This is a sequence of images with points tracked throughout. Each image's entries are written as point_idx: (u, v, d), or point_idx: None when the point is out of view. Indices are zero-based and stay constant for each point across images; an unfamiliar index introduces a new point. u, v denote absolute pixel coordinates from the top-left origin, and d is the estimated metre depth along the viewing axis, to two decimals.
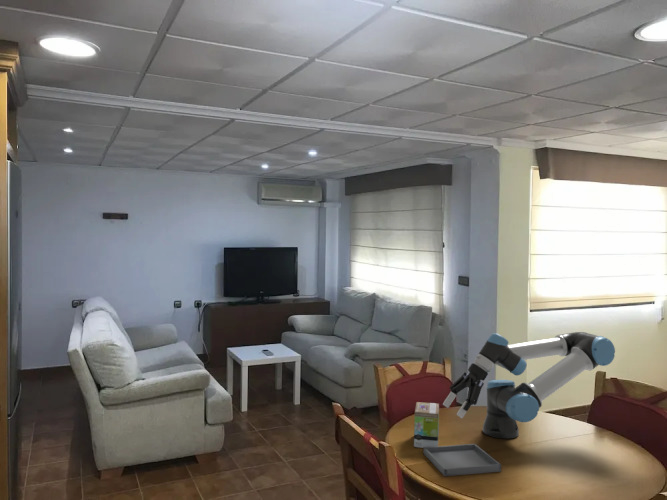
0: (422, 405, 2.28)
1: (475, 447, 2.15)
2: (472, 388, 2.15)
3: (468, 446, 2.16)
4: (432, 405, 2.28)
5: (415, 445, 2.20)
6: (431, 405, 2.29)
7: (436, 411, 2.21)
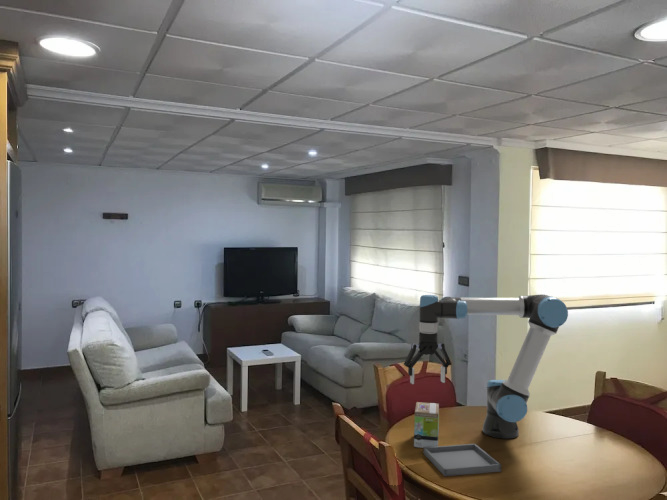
0: (422, 405, 2.28)
1: (475, 447, 2.15)
2: (417, 353, 2.25)
3: (468, 446, 2.16)
4: (432, 405, 2.28)
5: (415, 445, 2.20)
6: (431, 405, 2.29)
7: (436, 411, 2.21)
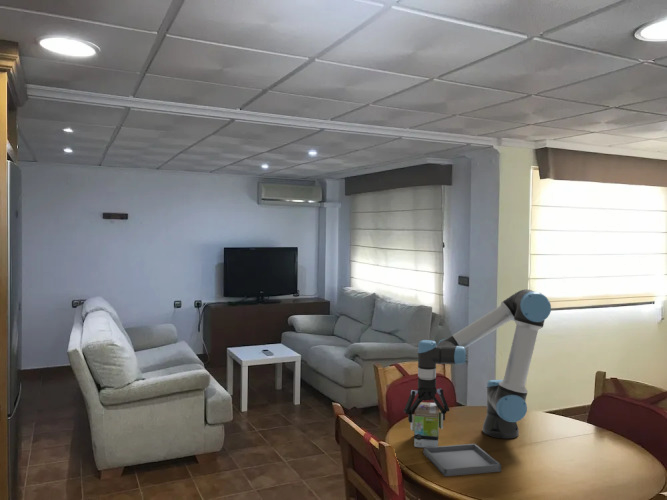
0: (422, 405, 2.28)
1: (475, 447, 2.15)
2: (417, 399, 2.26)
3: (468, 446, 2.16)
4: (432, 405, 2.28)
5: (415, 445, 2.20)
6: (431, 405, 2.29)
7: (436, 411, 2.21)
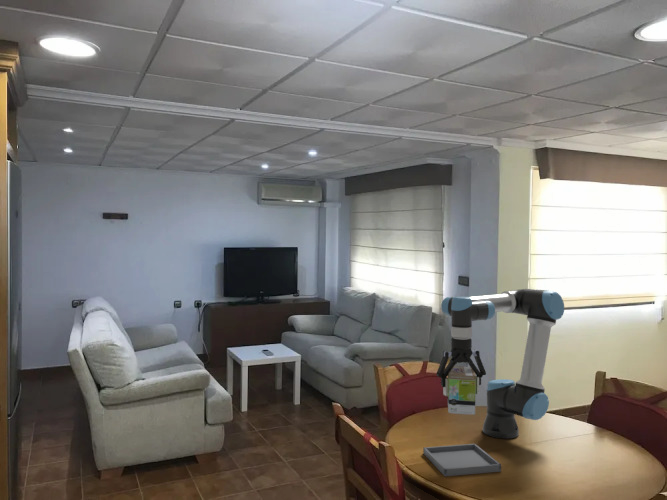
0: (455, 368, 2.07)
1: (475, 447, 2.15)
2: (450, 362, 2.04)
3: (468, 446, 2.16)
4: (467, 368, 2.07)
5: (450, 411, 1.98)
6: (465, 368, 2.07)
7: (473, 373, 1.99)
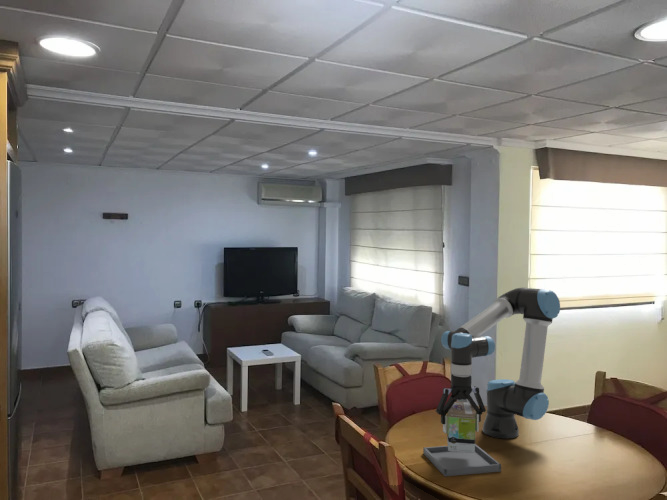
0: (455, 405, 2.07)
1: (475, 447, 2.15)
2: (450, 399, 2.04)
3: None
4: (467, 405, 2.07)
5: (449, 449, 1.98)
6: (465, 405, 2.07)
7: (472, 411, 1.99)
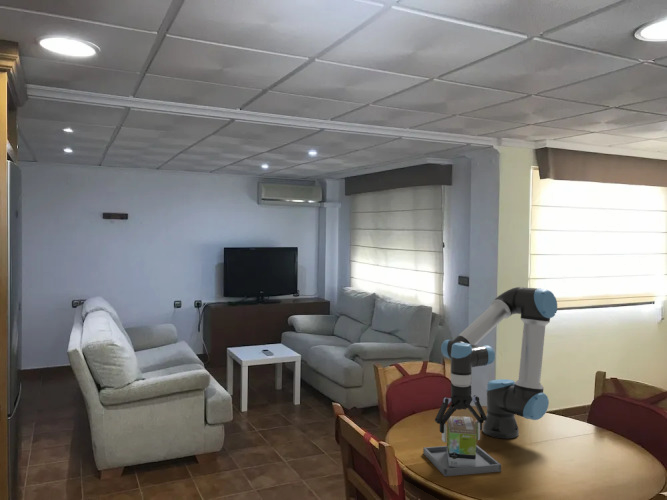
0: (455, 419, 2.07)
1: None
2: (450, 408, 2.04)
3: None
4: (467, 419, 2.07)
5: (450, 464, 1.98)
6: (465, 419, 2.08)
7: (473, 426, 2.00)
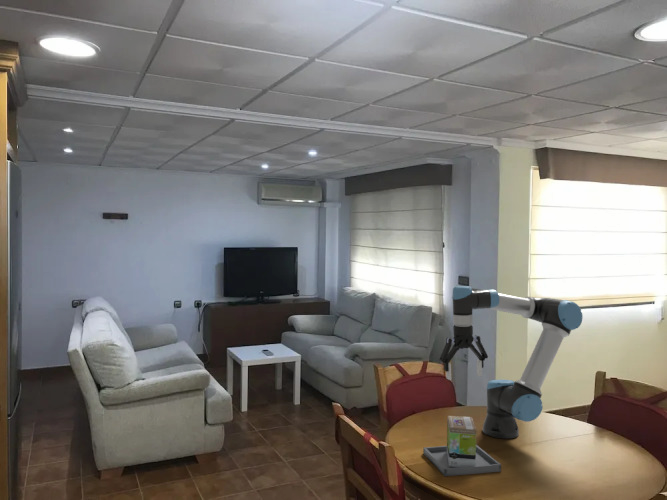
0: (455, 419, 2.07)
1: None
2: (453, 348, 2.15)
3: None
4: (467, 419, 2.07)
5: (450, 464, 1.98)
6: (465, 419, 2.08)
7: (473, 426, 2.00)
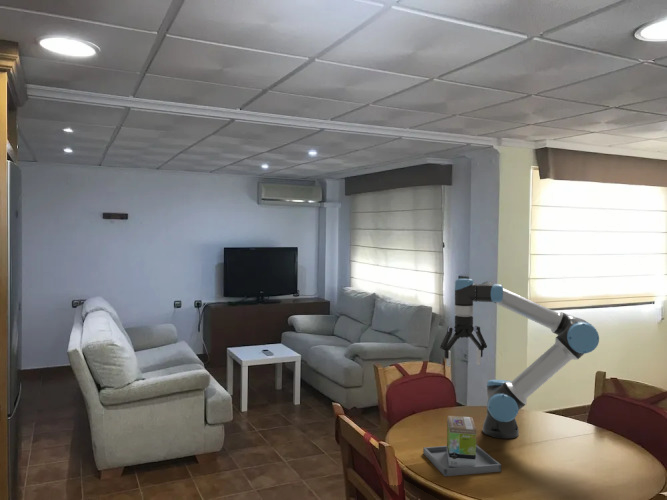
0: (455, 419, 2.07)
1: None
2: (453, 336, 2.27)
3: None
4: (467, 419, 2.07)
5: (450, 464, 1.98)
6: (465, 419, 2.08)
7: (473, 426, 2.00)
